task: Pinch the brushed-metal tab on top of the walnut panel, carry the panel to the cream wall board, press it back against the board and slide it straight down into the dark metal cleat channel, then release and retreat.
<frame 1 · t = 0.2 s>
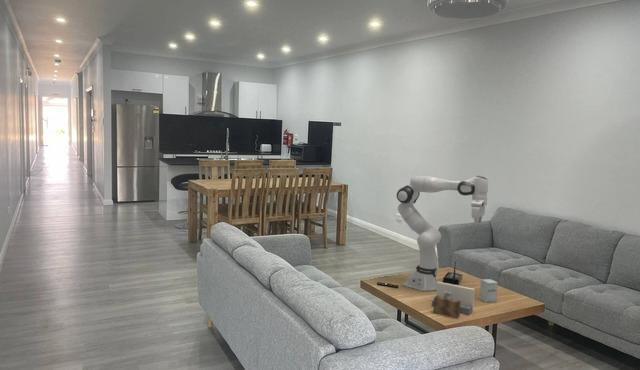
hand: (477, 223, 292), 48 cm above the table, fingers open, 8 cm apart
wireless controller: (452, 282, 329), on the table
walnut panel: (446, 314, 266), on the table
supplement box: (487, 300, 292), on the table
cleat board: (454, 306, 278), on the table
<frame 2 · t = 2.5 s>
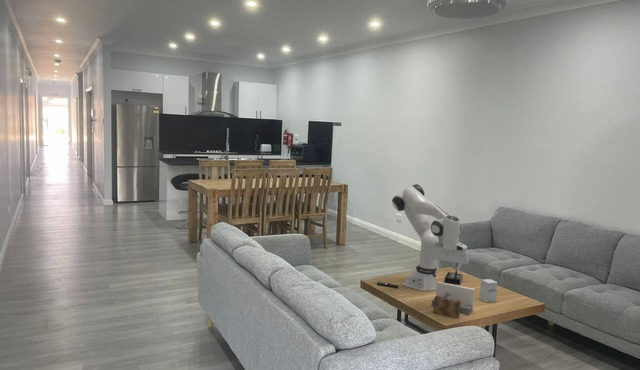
hand: (449, 268, 263), 27 cm above the table, fingers open, 8 cm apart
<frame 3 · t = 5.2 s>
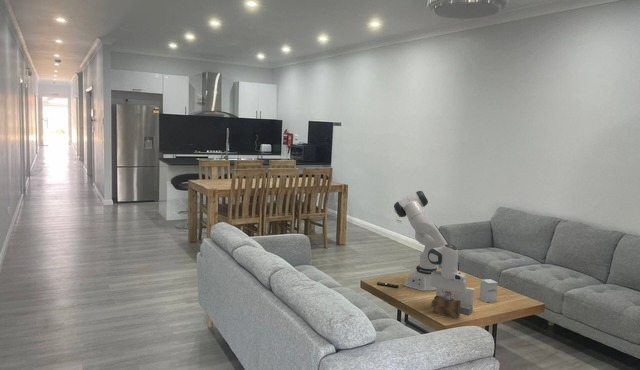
hand: (447, 297, 265), 10 cm above the table, fingers closed on walnut panel, 3 cm apart
walnut panel: (446, 314, 266), on the table, touching gripper
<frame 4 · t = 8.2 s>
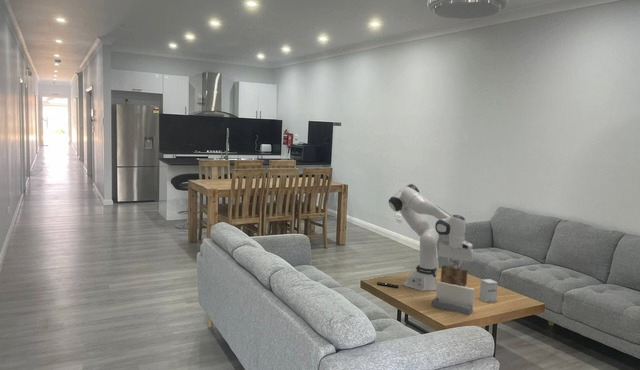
hand: (454, 266, 272), 26 cm above the table, fingers closed on walnut panel, 3 cm apart
walnut panel: (453, 283, 273), point 16 cm above the table, touching gripper
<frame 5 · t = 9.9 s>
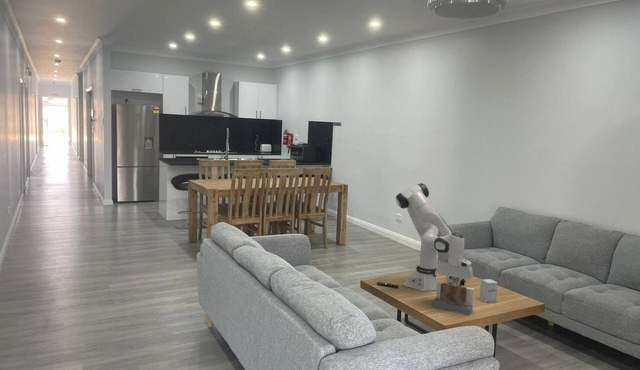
hand: (453, 283, 274), 15 cm above the table, fingers closed on walnut panel, 3 cm apart
walnut panel: (452, 300, 275), point 5 cm above the table, touching gripper
when the fingers open (11 cm above the table, at t = 11.3 s): walnut panel stays where it is, resting in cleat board.
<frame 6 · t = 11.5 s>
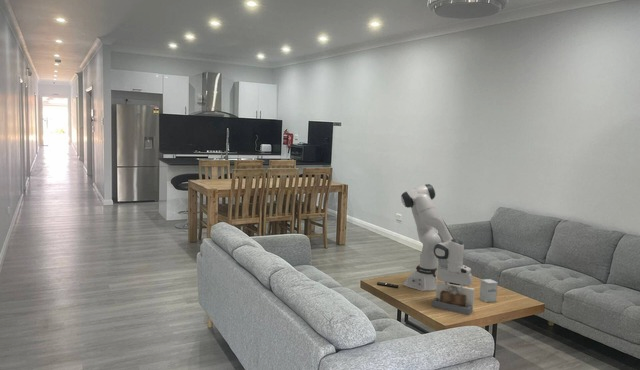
hand: (453, 290, 274), 11 cm above the table, fingers open, 5 cm apart
walnut panel: (452, 308, 276), resting in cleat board
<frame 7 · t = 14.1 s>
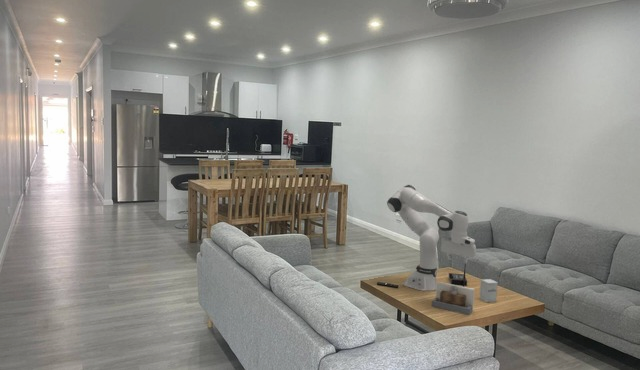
hand: (457, 261, 274), 28 cm above the table, fingers open, 8 cm apart
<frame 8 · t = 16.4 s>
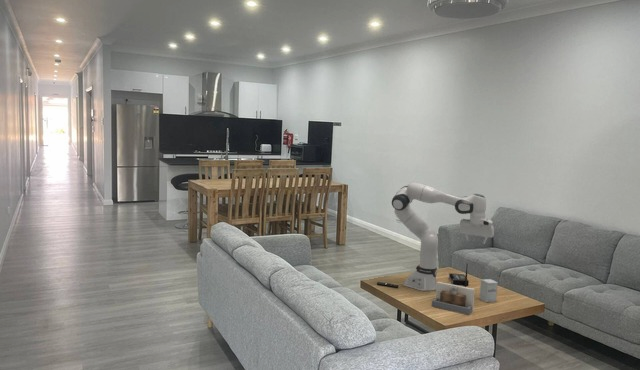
hand: (475, 242, 286), 37 cm above the table, fingers open, 8 cm apart
at the end: walnut panel 0.3 cm from the target spot on the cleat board, point 0.0 cm above the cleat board's base; walnut panel tilted 0°; the gripper is holding nothing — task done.
